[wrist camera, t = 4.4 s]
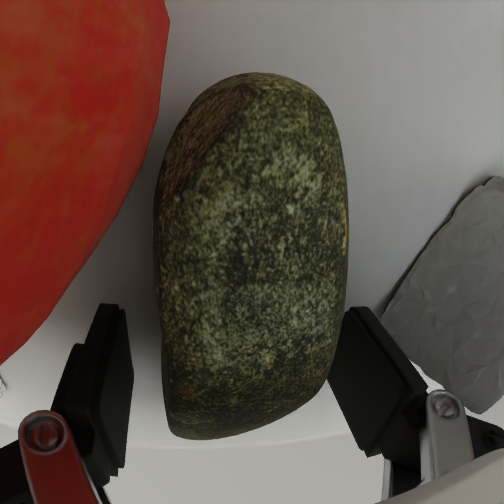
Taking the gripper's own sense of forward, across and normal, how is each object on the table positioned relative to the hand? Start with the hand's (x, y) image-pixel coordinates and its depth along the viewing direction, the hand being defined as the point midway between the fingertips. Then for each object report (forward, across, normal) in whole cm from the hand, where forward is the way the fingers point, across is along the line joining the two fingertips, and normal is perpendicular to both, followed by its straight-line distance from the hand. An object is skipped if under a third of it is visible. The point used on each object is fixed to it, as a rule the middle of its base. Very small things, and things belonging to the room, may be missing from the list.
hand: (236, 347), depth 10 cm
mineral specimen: (-2, -10, +1) cm, 10 cm away
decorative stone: (-3, +2, -1) cm, 4 cm away
